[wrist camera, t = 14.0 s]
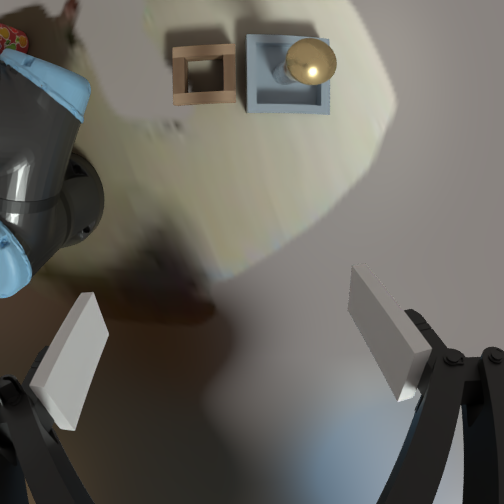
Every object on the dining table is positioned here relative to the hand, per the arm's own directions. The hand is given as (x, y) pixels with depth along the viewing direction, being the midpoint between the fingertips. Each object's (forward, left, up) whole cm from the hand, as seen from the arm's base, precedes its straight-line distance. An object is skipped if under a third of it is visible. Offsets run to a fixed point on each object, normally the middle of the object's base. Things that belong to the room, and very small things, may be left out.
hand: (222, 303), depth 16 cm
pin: (+8, +14, -32) cm, 36 cm away
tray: (+9, +14, -33) cm, 37 cm away
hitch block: (-2, +14, -33) cm, 36 cm away
